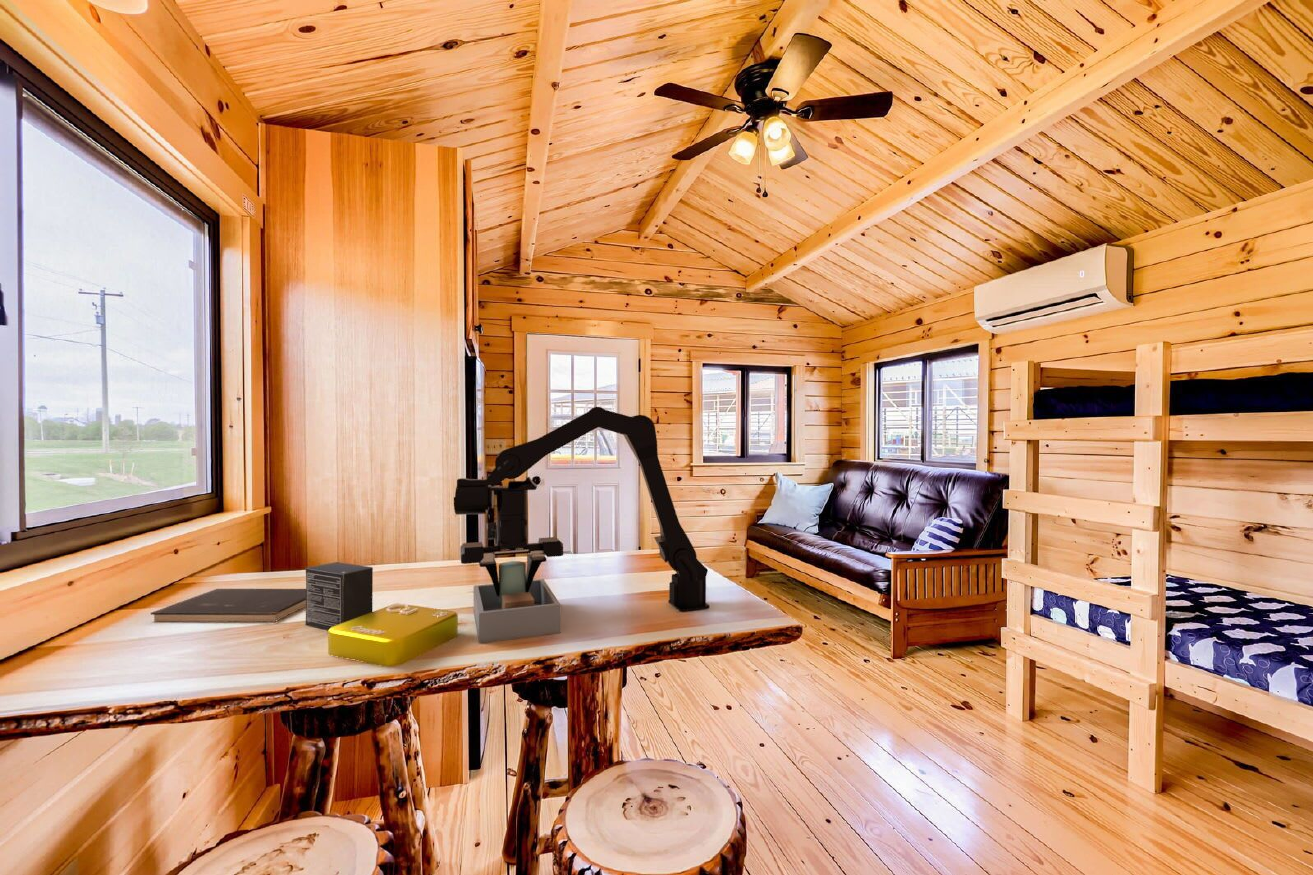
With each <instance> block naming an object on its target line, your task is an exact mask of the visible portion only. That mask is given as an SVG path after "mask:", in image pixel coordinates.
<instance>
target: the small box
mask: <svg viewBox="0 0 1313 875" xmlns="http://www.w3.org/2000/svg"><path fill="white" fill-rule="evenodd" d="M373 570H374V569H373V566H366V565H359V564H352V563H345V562H337V561H335V562H330V563H325V564H320V565H314V566H309V567H306V568H305V585H306V586H305V589H306V607H305V625H306V626H310V627H313V628H319V629H324V630H327V631H328V630H329V629H330V628H331V627H333V626H336V625H339V624H341V623H344V622H347V621H349V620H352V619H355V618H357V617H360V616H363V615H366V614H368V613H371V612H373V595H374V594H373V591H374V590H373V589H374V588H373V587H374V586H373V575H374V574H373Z"/></svg>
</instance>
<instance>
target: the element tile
mask: <svg viewBox="0 0 1313 875" xmlns="http://www.w3.org/2000/svg"><path fill="white" fill-rule="evenodd" d="M458 618H459V616H458V612H456V611H452V610H448V609H447V610H446V609H441V608H439V609H438V608H433V607H427V606H419V605H414V604H413V605H412V604H406V603H393V604H390V605H387V606H385V607H382V608H380V609H376V610H374V611H372V612H371V613H368V614H366V615H363V616H360V617H357V618H355V619H352V620H349V621H347V622H344V623H341V624H339V625H336V626H333V627H331V628H330V629H329V630H327V634H328V635H327V644H328V645H327V647H328V648H327V652H328V655H329V656H331V655H333V656H332V657H335V656H338V657H337V658H340V657H343V658H342V659H345V658H349V659H355V660H359V661H363V662H362V663H364V662H366V663H365V664H369V665H374V664H375V665H374V666H379V665H381V666H380V667H384V666H386V668H391V667H392V666H393V667H398V666H402V665H404V664H406V663H409V662H411V661H413V660H414V659H416V657H417V658H419V657H420V655H421V656H423V655H425V654H427V653H428V652H430V651H433V650H434V649H437V648H438V647H441V646H442V645H444V644H446V643H448V642H450V641H452V640H455V639H456V638H457V637H458V636H459V633H458V632H459V626H458V625H459V622H458V621H459V619H458ZM418 656H419V657H418ZM349 659H348V660H349ZM412 659H413V660H412ZM410 660H411V661H410ZM359 661H358V662H359ZM408 661H409V662H408ZM401 664H402V665H401ZM397 665H398V666H397ZM390 666H391V667H390Z"/></svg>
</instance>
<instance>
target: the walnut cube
mask: <svg viewBox="0 0 1313 875" xmlns="http://www.w3.org/2000/svg"><path fill="white" fill-rule="evenodd" d="M528 606H534V599H533V597H532V595H531V593H530V592H526V593H516V594H506V595H502V609H510V608H519V607H528Z"/></svg>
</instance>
